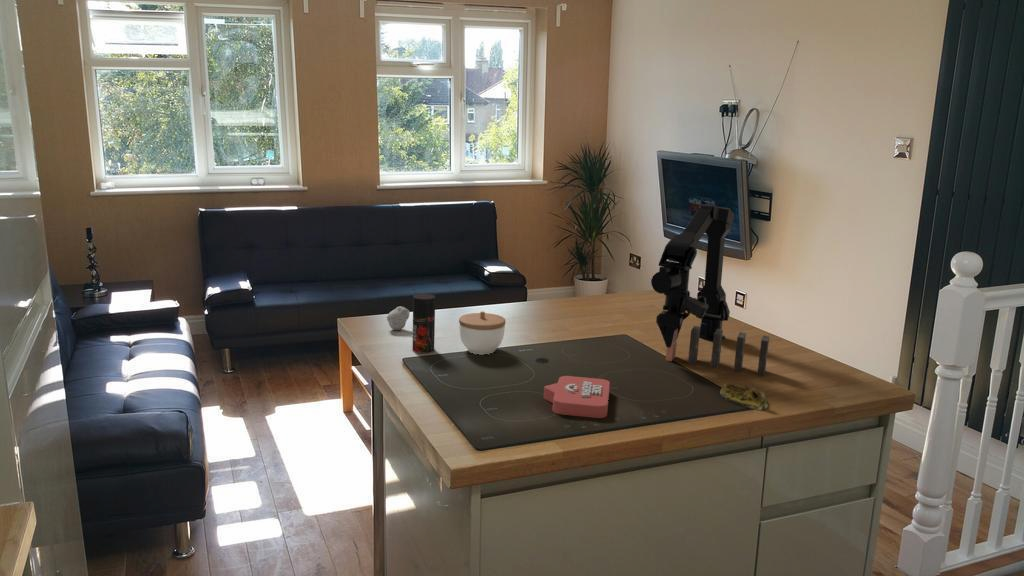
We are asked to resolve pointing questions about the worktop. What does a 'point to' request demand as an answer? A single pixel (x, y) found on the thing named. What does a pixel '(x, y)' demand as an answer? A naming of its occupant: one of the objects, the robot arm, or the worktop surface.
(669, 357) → the domino
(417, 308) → the deodorant
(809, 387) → the worktop surface
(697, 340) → the domino
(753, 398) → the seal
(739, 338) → the domino
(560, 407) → the plaque
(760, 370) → the domino
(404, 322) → the grey lumpy stone
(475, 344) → the lidded bowl
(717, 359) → the domino
